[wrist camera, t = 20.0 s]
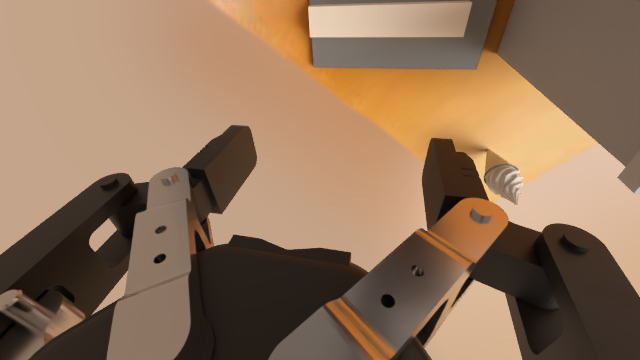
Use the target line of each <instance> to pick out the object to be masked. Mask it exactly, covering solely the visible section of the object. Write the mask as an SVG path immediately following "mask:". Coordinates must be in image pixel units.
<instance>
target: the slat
mask: <svg viewBox="0 0 640 360" xmlns="http://www.w3.org/2000/svg"><path fill="white" fill-rule="evenodd" d="M471 6H472V2H470V1H436V2H399V3H363V4H327V5H311V6H309V7H308V13H309V30H310V37H463V36H464V33H465V29H466V25H467V21H468V17H469V14H470V10H471Z"/></svg>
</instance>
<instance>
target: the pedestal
mask: <svg viewBox="0 0 640 360" xmlns="http://www.w3.org/2000/svg"><path fill="white" fill-rule="evenodd" d="M497 54H498V55H499V56H500V57H501V58H502V59H503V60H505V61H506V62H507V63H508V64H509V65H510V66H511V67H513V68H514V69H515V70H516V71H517V72H518V73H519V74H520V75H522V76H523V77H524V78H525V79H526V80H527V81H528V82H530V83H531V84H532V85H533V86H534V87H535V88H536V89H538V90H539V91H540V92H541V93H542V94H543V95H544V96H546V97H547V98H548V99H549V100H550V101H551V102H552V103H554V104H555V105H556V106H557V107H558V108H559V109H560V110H562V111H563V112H564V113H565V114H566V115H567V116H568V117H570V118H571V119H572V120H573V121H574V122H575V123H576V124H578V125H579V126H580V127H581V128H582V129H583V130H584V131H586V132H587V133H588V134H589V135H590V136H591V137H592V138H594V139H595V140H596V141H597V142H598V143H599V144H600V145H602V146H603V147H604V148H605V149H606V150H607V151H608V152H610V153H611V154H612V155H613V156H614V157H615V158H617V159H618V160H619V161H620V162H621V163H622V164H623V165H624V166H625V167H626V168H625V169H624V170H623V172H622V173H621V174H620V175H619V176H618V178H619V179H620V180H621V181H622V182H623V183H624V184H625V185H626V186H627V187H628V188H629V189H630V190H631V191H632V192H633V193H639V194H640V0H515V1H514V4H513V7H512V10H511V13H510V16H509V19H508V22H507V25H506V28H505V31H504V34H503V37H502V39H501V42H500V45H499V48H498V51H497Z"/></svg>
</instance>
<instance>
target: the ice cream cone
mask: <svg viewBox="0 0 640 360" xmlns="http://www.w3.org/2000/svg"><path fill="white" fill-rule="evenodd" d="M519 174H520V171H519V169H518V168H517V167H516V166H514V165H512V164H510V163H508V162H507V161H506V160H504V159H503V158H501V157H500V156H498V155H497V154H495V153H494V152H492V151H491V150H489V149H488V150H487V155H486V166H485V175H484V182H485V183H486V184H487V185H488V188H489V189H490V190H491V191H492V192H494V193H495V194H497V195H501V197H503V198H505V199H508V200H509V201H511V202H513V203H514V204H516V205H517V201H518V196H519V195H520V193H519V192H518V191H519V190H520V188H518V187H522V186H523V182H520V181H521V180H522V179H523V176H519Z"/></svg>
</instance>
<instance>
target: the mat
mask: <svg viewBox="0 0 640 360" xmlns="http://www.w3.org/2000/svg"><path fill="white" fill-rule="evenodd" d="M309 1H310V6H311V5H327V4H363V3H399V2H436V1H470V2H472V6H471V10H470V14H469V17H468V21H467V25H466V29H465V33H464V36H463V37H312V50H313V67H327V68H402V69H477V66H478V63H479V59H480V56H481V53H482V49H483V46H484V43H485V40H486V36H487V33H488V30H489V26H490V23H491V20H492V17H493V13H494V10H495V7H496V3H497V0H309Z"/></svg>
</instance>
